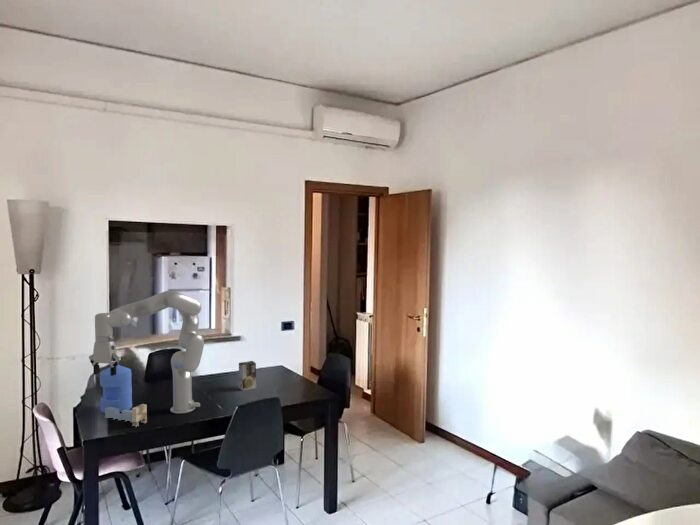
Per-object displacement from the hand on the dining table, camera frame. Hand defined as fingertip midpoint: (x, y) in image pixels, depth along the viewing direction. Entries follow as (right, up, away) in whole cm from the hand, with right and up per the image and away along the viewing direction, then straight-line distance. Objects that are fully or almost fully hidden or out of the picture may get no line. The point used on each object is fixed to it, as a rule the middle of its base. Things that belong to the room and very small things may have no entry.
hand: (105, 374), depth 242 cm
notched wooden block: (+13, -27, +9) cm, 31 cm away
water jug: (-9, -26, +31) cm, 42 cm away
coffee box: (+54, -24, +69) cm, 91 cm away
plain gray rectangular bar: (0, -26, +16) cm, 31 cm away
